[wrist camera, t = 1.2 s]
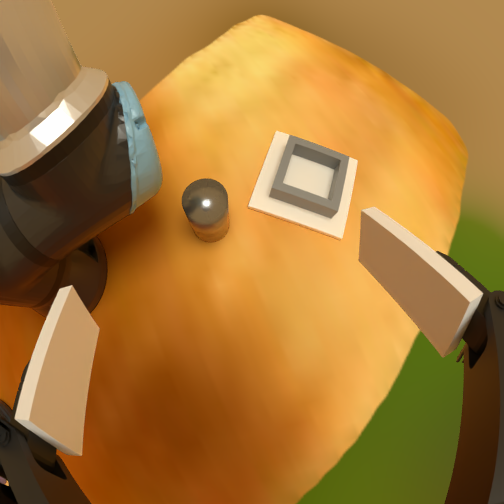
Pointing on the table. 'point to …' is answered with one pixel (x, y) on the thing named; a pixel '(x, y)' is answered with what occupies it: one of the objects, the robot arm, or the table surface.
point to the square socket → (305, 185)
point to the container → (2, 480)
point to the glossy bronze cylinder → (207, 209)
